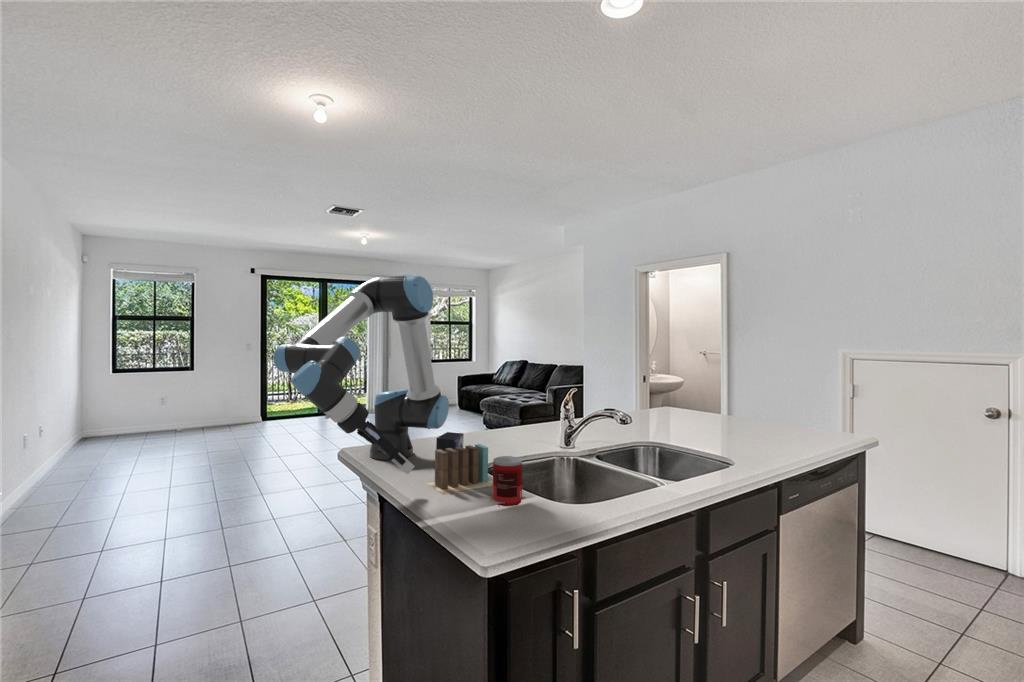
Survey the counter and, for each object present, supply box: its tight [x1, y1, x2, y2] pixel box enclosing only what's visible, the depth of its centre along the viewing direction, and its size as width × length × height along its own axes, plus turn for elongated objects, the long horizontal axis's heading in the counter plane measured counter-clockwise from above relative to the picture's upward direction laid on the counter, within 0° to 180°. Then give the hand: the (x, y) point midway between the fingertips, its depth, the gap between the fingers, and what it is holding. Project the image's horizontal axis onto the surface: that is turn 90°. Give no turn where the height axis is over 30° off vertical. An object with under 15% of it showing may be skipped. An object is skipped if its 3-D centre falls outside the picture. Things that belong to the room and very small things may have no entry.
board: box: [425, 478, 493, 495], centre depth 140 cm, size 12×17×1 cm
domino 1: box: [434, 449, 448, 490], centre depth 137 cm, size 5×2×10 cm, turn 33°
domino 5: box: [474, 443, 489, 483], centre depth 144 cm, size 5×2×10 cm, turn 33°
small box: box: [435, 431, 464, 451], centre depth 161 cm, size 11×6×10 cm, turn 168°
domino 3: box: [455, 446, 469, 486], centre depth 140 cm, size 5×2×10 cm, turn 33°
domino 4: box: [464, 444, 479, 484], centre depth 142 cm, size 5×2×10 cm, turn 33°
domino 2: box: [445, 448, 458, 488], centre depth 138 cm, size 5×2×10 cm, turn 33°
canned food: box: [492, 455, 523, 507], centre depth 128 cm, size 8×8×11 cm
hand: (410, 469), depth 131 cm, fingers closed
